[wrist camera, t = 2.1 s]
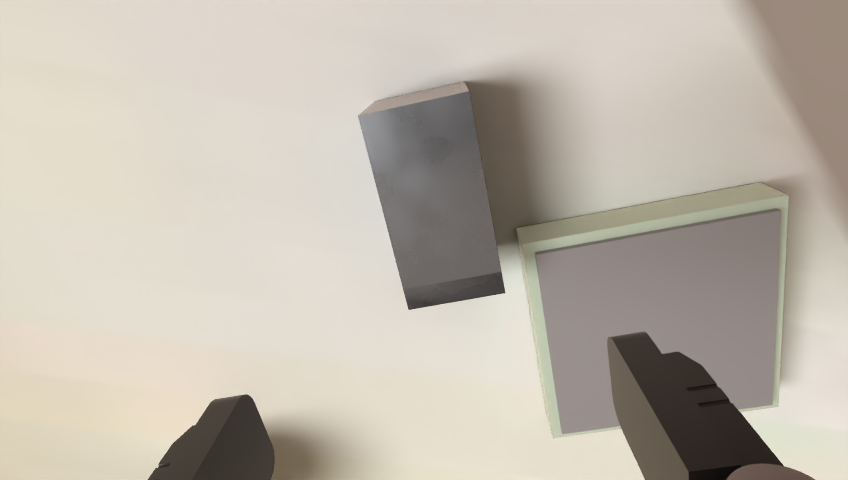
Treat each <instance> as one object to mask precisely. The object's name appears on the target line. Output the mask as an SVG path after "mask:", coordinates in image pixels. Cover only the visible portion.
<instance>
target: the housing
mask: <svg viewBox="0 0 848 480" xmlns="http://www.w3.org/2000/svg"><path fill="white" fill-rule="evenodd" d="M358 117H359V121H360V125H361V129H362V133H363V136H364V140H365V144H366V148H367V152H368V156H369V160H370V163H371V167H372V171H373V175H374V179H375V183H376V186H377V190H378V194H379V198H380V202H381V206H382V209H383V213H384V217H385V221H386V225H387V229H388V232H389V236H390V240H391V244H392V248H393V252H394V255H395V259H396V263H397V267H398V271H399V275H400V278H401V282H402V286H403V290H404V294H405V298H406V302H407V305H408V309H409V310H410V309H416V308H422V307H427V306H433V305H439V304H445V303H450V302H456V301H462V300H468V299H473V298H479V297H485V296H491V295H496V294H502V293H505V289H504V284H503V278H502V272H501V267H500V261H499V256H498V250H497V244H496V239H495V233H494V227H493V222H492V216H491V211H490V205H489V199H488V194H487V188H486V183H485V177H484V171H483V166H482V160H481V155H480V149H479V143H478V138H477V132H476V126H475V121H474V115H473V110H472V104H471V98H470V93H469V90H468V88H467V86H466V84H465V82H464V81H463V82H459V83H454V84H450V85H445V86H441V87H436V88H432V89H427V90H423V91H419V92H414V93H410V94H405V95H401V96H396V97H392V98H387V99H383V100H379V101H375V102H374V103H373V104H372V105H370V106H369V107H368V108H367V109H366V110H364V111H363V112H362V113H361V114H360V115H358Z"/></svg>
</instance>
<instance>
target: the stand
mask: <svg viewBox="0 0 848 480" xmlns="http://www.w3.org/2000/svg"><path fill="white" fill-rule="evenodd" d="M788 202H789V195H787V194H785V193H783V192H780V191H778V190H776V189H774V188H771V187H769V186H767V185H764V184H762V183H760V182H758V183H753V184H748V185H743V186H737V187H732V188H727V189H721V190H716V191H711V192H705V193H700V194H695V195H689V196H684V197H679V198H674V199H668V200H663V201H658V202H652V203H647V204H642V205H636V206H631V207H626V208H621V209H615V210H610V211H605V212H599V213H594V214H589V215H583V216H578V217H573V218H568V219H562V220H557V221H552V222H546V223H541V224H536V225H530V226H525V227H520V228H516V232H517V238H518V244H519V250H520V257H521V263H522V269H523V275H524V281H525V288H526V294H527V300H528V306H529V312H530V319H531V325H532V331H533V337H534V344H535V350H536V356H537V362H538V368H539V375H540V381H541V387H542V393H543V399H544V406H545V411H546V415H547V419H548V422H549V426H550V430H551V433H552V437H553V438H558V437H565V436H572V435H579V434H586V433H594V432H601V431H608V430H615V429H621V426H620V424H619V421H618V418H617V415H616V411H615V407H614V403H613V396H612V387H611V377H610V367H609V358H608V348H607V340H608V337H613V336H619V335H625V334H631V333H638V332H644V331H645V332H646V333H647V334H648V335H649V336H650V338H651V339H652V340H653V342H654V343H655V345H656V346H657V347H658V349H659V350H660V352H661V353H662V354H665V353H672V352H678V351H679V352H680V353H682V354H684V355H686V356H687V357H689V358H691V359H692V360H694V361H696V362H697V363H699V364H701V365H702V366H703V367H704V368H705V370H706V371H707V372H708V373H709V375H710V376H711V377H712V378H713V380H714V381H715V382H716V383H717V386H718V387H720V388H721V389H722V391H723V392H724V393H725V394H726V396H727V397H728V398H729V400H730V403H733V404H734V405H735V407H736V408H737V409H738V410H739V412H744V411H751V410H758V409H765V408H773V407H778V405H779V384H780V364H781V344H782V323H783V303H784V283H785V263H786V242H787V222H788Z"/></svg>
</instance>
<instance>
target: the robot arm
mask: <svg viewBox="0 0 848 480" xmlns="http://www.w3.org/2000/svg"><path fill="white" fill-rule="evenodd" d="M607 348H608V358H609V367H610V377H611V387H612V396H613V403H614V407H615V411H616V415H617V418H618V421H619V424H620V426H621V429H622V431H623V433H624V435H625V437H626V439H627V442H628V444H629V446H630V448H631V450H632V452H633V454H634V457H635V459H636V461H637V463H638V465H639V467H640V469H641V472H642V474H643V476H644V478H645V480H815V479H813V478H812V477H810V476H808V475H806V474H804V473H802V472H799V471H797V470H794V469H791V468H788V467H784V466H783V464H782V463H781V462H780V461H779V460H778V458H777V457H776V456H775V455H774V453H773V452H772V451H771V450H770V449H769V447H768V446H767V445H766V444H765V442H764V441H763V440H762V439H761V437H760V436H759V435H758V434H757V432H756V431H755V430H754V429H753V428H752V426H751V425H750V424H749V423H748V421H747V420H746V419H745V418H744V416H743V415H742V414H741V413H740V412H739V410H738V409H737V408H736V407H735V405H734V404H733V403H730V400H729V398H728V397H727V396H726V394H725V393H724V392H723V391H722V389H721V388H720V387H718V386H717V383H716V382H715V381H714V380H713V378H712V377H711V376H710V375H709V373H708V372H707V371H706V370H705V368H704V367H703V366H702V365H701V364H699V363H697V362H696V361H694V360H692V359H691V358H689V357H687V356H686V355H684V354H682V353H680V352H679V351H678V352H672V353H665V354H662V353H661V352H660V350H659V349H658V347H657V346H656V345H655V343H654V342H653V340H652V339H651V338H650V336H649V335H648V334H647V333H646V332H645V331H644V332H638V333H631V334H625V335H619V336H613V337H608V340H607ZM273 470H274V450H273V446H272V443H271V441H270V439H269V436H268V434H267V431H266V429H265V427H264V424H263V422H262V419H261V417H260V415H259V412H258V410H257V407H256V405H255V403H254V401H253V399H252V398H251V397H250V396H249V395H240V396H233V397H227V398H221V399H215V400H213V401H212V402H211V403H210V404H209V406H208V407H207V409H206V410H205V412H204V413H203V415H202V416H201V418H200V419H199V421H198V422H197V424H196V425H194V426H192V427H191V428H189V429H188V430H187V431H186V432H185V433H184V434H183V435H182V436H181V437H180V438H179V439H177V440H176V441H175V442H174V443H173V444H172V445H171V447H170V448H169V450H168V451H167V453H166V454H165V455H164V457H163V458H162V460H161V461H160V463H159V467H158V468H156V469H155V470H154V471H153V473H152V474H151V476H150V477H149V479H148V480H270V479H271V477H272V474H273Z"/></svg>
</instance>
